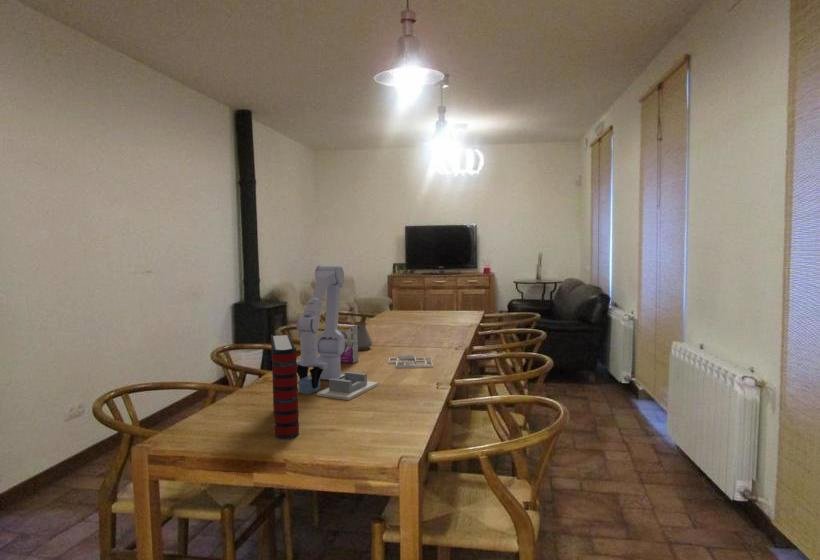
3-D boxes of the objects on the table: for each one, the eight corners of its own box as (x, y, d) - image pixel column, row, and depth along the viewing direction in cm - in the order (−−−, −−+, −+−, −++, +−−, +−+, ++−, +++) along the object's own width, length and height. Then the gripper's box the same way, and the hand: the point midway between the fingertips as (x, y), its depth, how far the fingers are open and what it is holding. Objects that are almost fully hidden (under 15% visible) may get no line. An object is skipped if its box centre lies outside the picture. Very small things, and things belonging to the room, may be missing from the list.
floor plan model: (376, 359, 241) (376, 355, 241) (431, 358, 241) (431, 354, 240) (373, 369, 222) (373, 365, 222) (432, 369, 222) (432, 364, 222)
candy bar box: (331, 361, 235) (330, 325, 234) (337, 359, 240) (336, 323, 238) (352, 363, 230) (352, 326, 229) (358, 361, 235) (358, 324, 234)
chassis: (317, 395, 185) (316, 381, 184) (348, 381, 203) (347, 368, 202) (348, 400, 179) (348, 385, 179) (378, 385, 197) (377, 371, 196)
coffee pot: (350, 346, 268) (350, 316, 267) (373, 346, 268) (373, 316, 267) (343, 355, 247) (343, 323, 246) (368, 355, 247) (367, 323, 245)
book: (300, 438, 146) (297, 349, 144) (274, 441, 144) (271, 350, 142) (293, 409, 170) (291, 333, 168) (271, 412, 168) (268, 334, 166)
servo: (296, 394, 187) (296, 378, 187) (313, 386, 196) (313, 371, 196) (306, 395, 186) (305, 379, 185) (322, 388, 194) (322, 372, 194)
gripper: (285, 350, 189) (286, 387, 190) (318, 353, 183) (319, 392, 184) (297, 346, 196) (298, 382, 197) (330, 349, 189) (331, 386, 190)
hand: (309, 386), depth 191 cm, fingers closed on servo, 4 cm apart
